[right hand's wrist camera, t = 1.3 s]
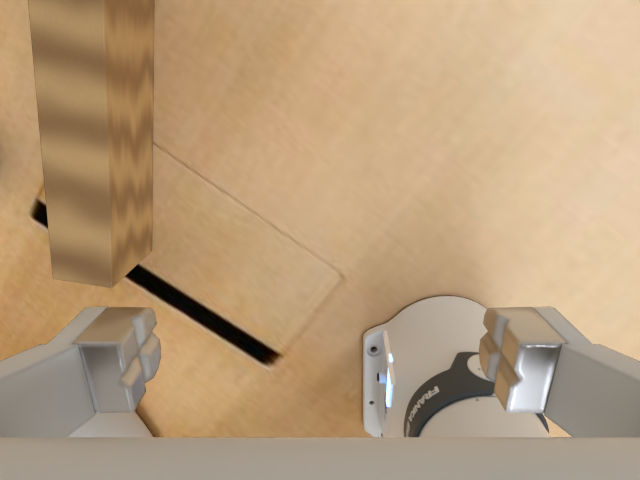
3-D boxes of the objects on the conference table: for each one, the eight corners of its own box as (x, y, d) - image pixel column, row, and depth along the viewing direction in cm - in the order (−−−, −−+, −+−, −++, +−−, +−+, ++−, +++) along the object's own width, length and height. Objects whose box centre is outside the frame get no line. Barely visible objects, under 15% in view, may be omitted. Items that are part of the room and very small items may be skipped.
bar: (152, 250, 46) (112, 288, 37) (103, 243, 45) (52, 279, 37) (154, -19, 36) (101, -48, 28) (93, -29, 36) (21, -62, 28)
